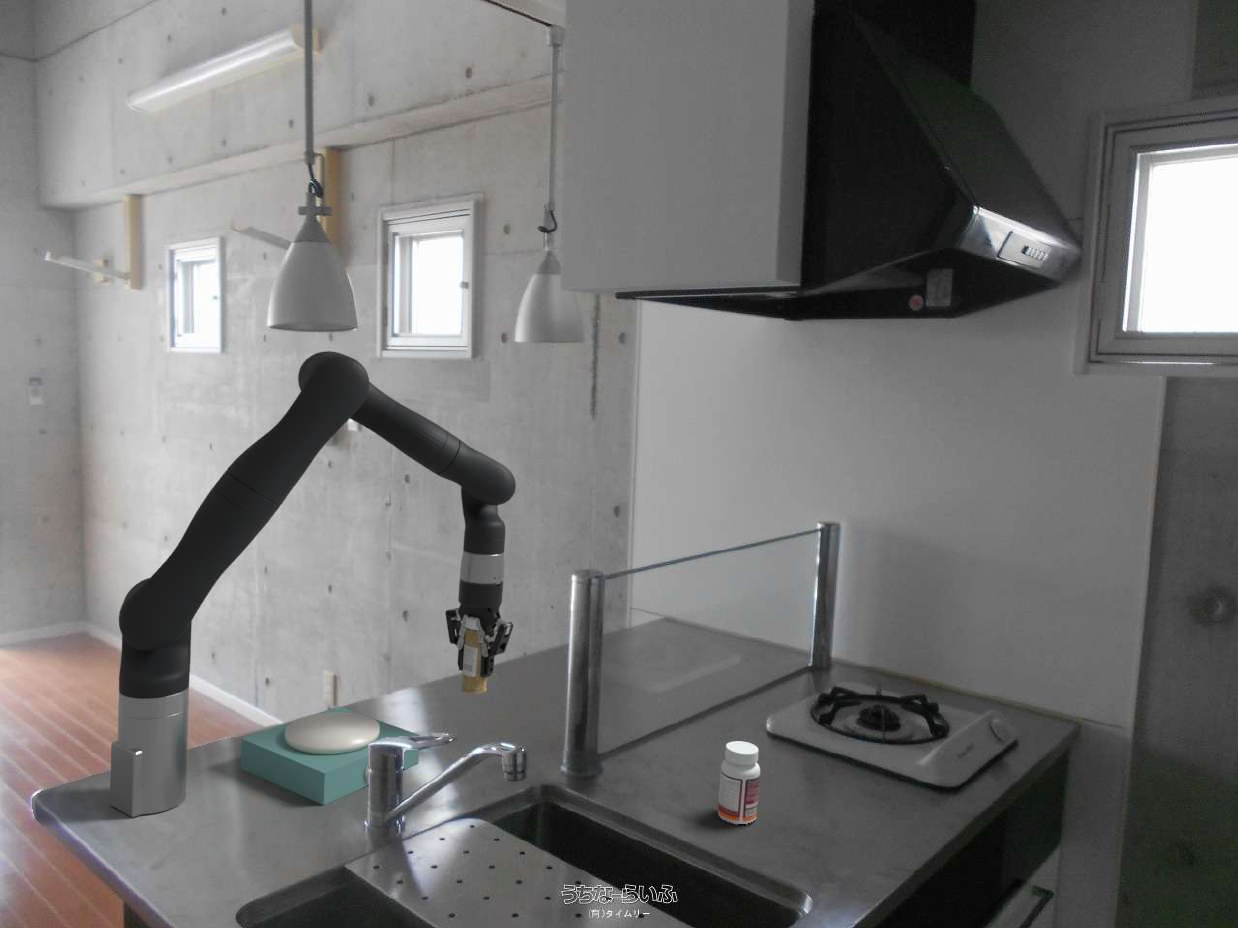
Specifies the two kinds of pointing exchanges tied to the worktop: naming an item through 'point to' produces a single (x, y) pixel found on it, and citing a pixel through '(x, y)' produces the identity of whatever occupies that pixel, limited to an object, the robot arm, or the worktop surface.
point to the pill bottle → (739, 783)
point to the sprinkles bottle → (472, 661)
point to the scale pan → (331, 733)
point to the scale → (314, 763)
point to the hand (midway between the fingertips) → (475, 672)
